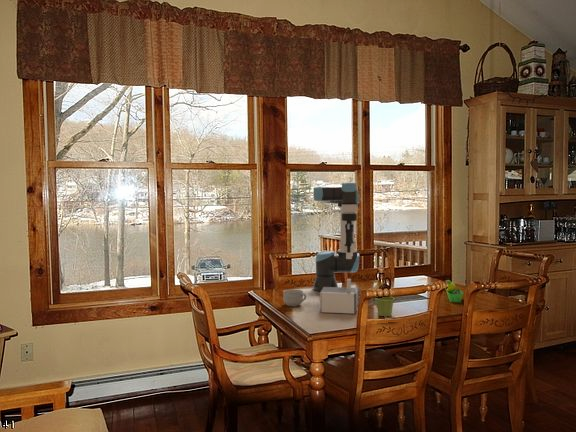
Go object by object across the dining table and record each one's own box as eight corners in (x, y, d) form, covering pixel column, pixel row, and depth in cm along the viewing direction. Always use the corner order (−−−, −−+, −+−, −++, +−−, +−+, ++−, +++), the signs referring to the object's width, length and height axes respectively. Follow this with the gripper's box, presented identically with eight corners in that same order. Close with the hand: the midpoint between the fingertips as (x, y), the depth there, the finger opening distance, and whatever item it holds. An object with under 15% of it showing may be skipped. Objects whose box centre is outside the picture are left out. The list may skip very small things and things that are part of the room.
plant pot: (373, 313, 231) (373, 296, 230) (391, 312, 232) (391, 295, 231) (378, 318, 222) (377, 300, 221) (397, 317, 222) (397, 300, 222)
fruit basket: (463, 303, 249) (463, 282, 248) (446, 302, 251) (446, 281, 250) (460, 298, 260) (460, 278, 259) (443, 297, 262) (443, 277, 261)
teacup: (279, 305, 250) (278, 290, 249) (294, 301, 257) (294, 287, 256) (296, 310, 239) (295, 294, 239) (311, 306, 246) (311, 291, 246)
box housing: (323, 305, 248) (323, 286, 247) (357, 306, 244) (357, 287, 244) (320, 312, 234) (320, 292, 233) (356, 313, 230) (356, 293, 230)
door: (320, 311, 234) (320, 278, 233) (354, 312, 231) (354, 278, 230) (319, 312, 232) (319, 278, 231) (353, 313, 229) (353, 279, 228)
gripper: (355, 214, 222) (355, 260, 224) (357, 211, 243) (358, 254, 244) (339, 214, 224) (340, 260, 225) (343, 211, 244) (343, 254, 246)
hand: (349, 257), depth 235 cm, fingers open, 8 cm apart
